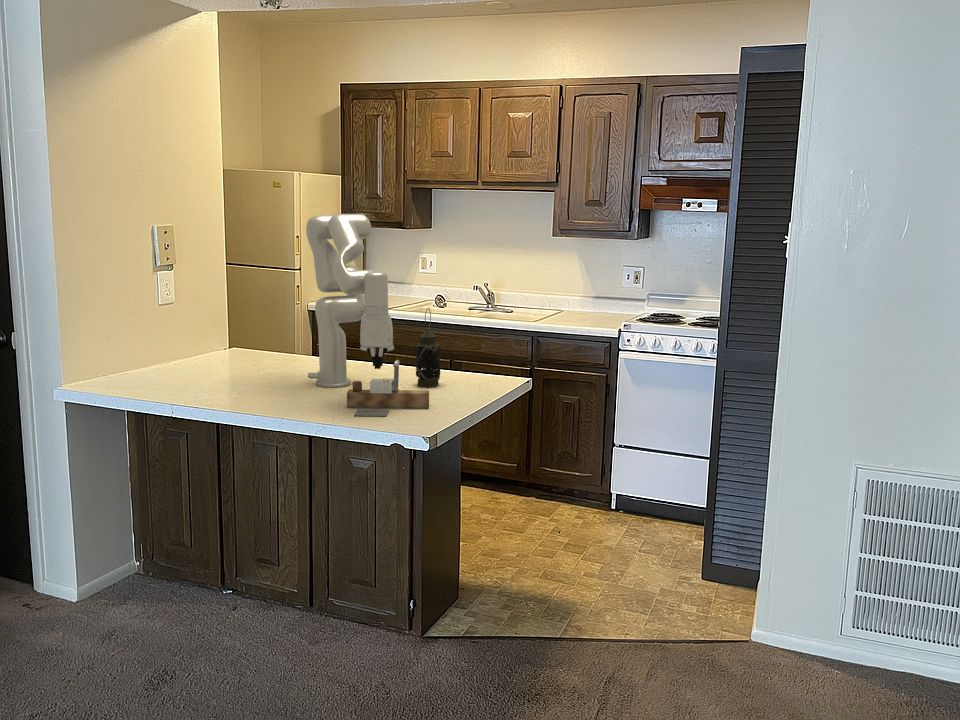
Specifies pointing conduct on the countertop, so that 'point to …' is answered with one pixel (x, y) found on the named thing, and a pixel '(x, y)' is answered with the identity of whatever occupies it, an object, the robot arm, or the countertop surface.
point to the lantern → (428, 359)
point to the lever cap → (381, 385)
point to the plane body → (386, 398)
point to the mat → (371, 413)
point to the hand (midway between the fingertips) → (377, 368)
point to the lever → (396, 374)
